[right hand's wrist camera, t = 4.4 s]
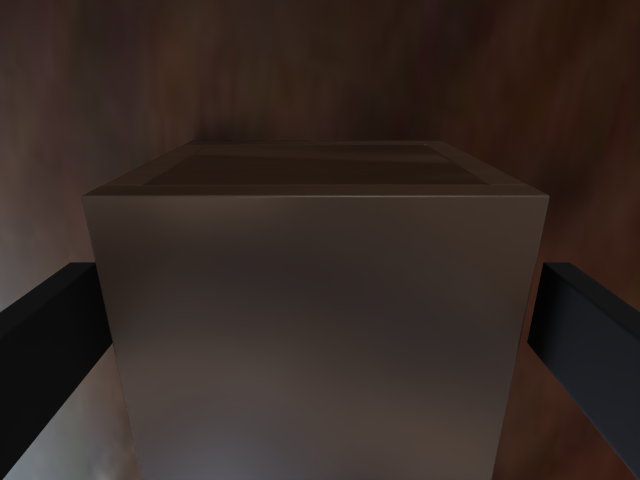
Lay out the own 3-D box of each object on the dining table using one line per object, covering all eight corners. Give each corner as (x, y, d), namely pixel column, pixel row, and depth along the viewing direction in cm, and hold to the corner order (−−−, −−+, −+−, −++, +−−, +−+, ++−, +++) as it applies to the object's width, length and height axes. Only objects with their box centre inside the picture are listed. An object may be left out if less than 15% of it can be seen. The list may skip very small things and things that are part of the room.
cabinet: (406, 486, 26) (449, 685, 17) (229, 487, 26) (185, 686, 17) (443, 140, 18) (550, 195, 10) (191, 140, 18) (80, 195, 10)
